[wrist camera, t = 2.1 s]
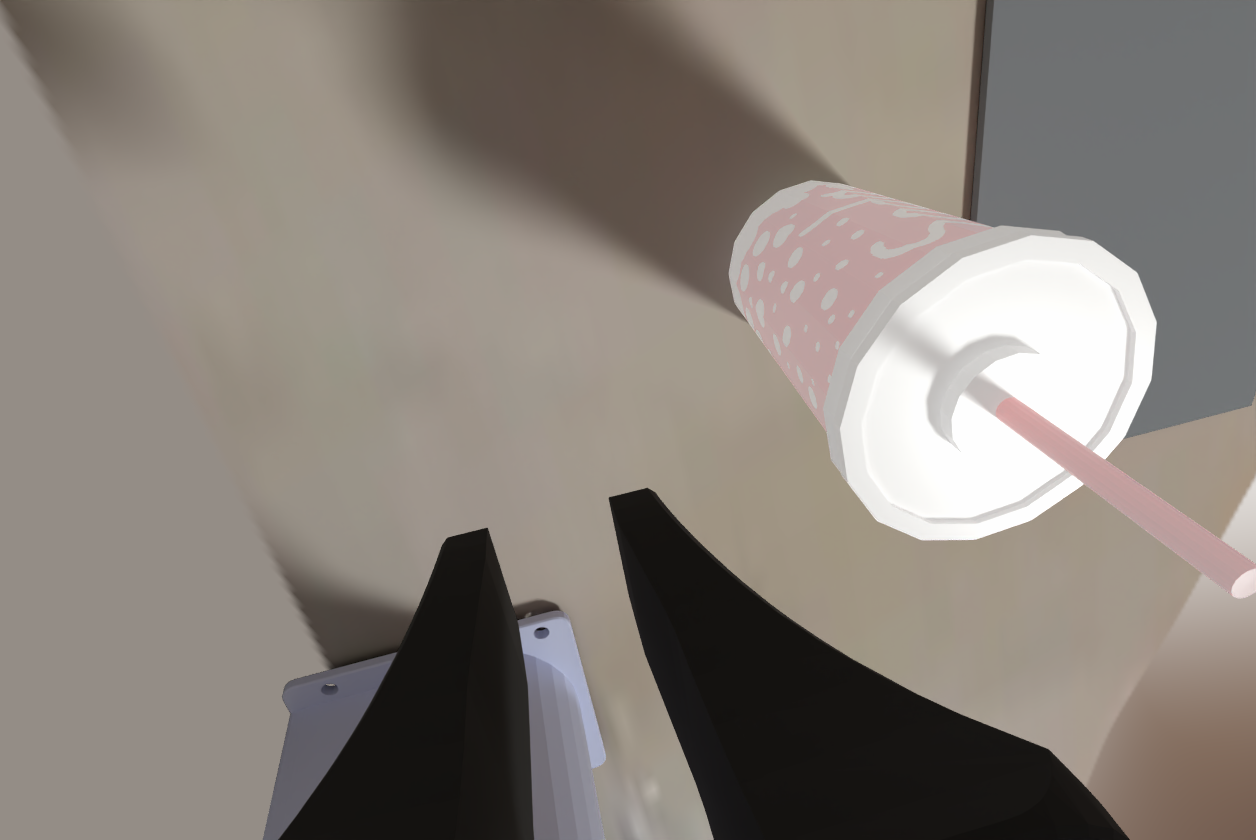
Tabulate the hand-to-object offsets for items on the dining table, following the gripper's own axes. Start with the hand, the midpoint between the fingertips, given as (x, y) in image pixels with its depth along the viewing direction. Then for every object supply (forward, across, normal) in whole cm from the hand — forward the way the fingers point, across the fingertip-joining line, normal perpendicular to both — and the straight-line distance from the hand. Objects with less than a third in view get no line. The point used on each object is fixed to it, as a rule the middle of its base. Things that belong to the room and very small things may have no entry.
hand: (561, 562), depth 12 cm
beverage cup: (+11, -8, 0) cm, 13 cm away
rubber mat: (+10, -19, +1) cm, 22 cm away
